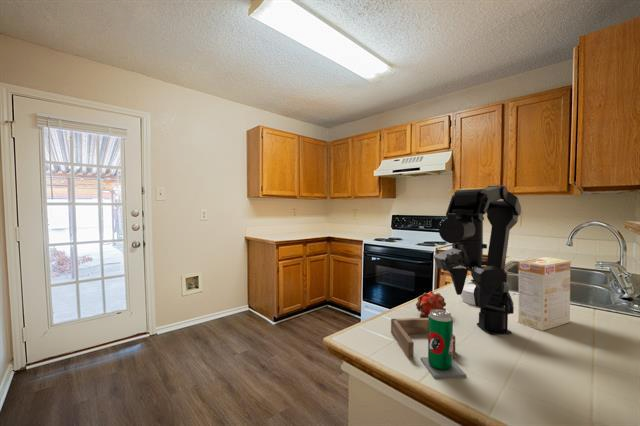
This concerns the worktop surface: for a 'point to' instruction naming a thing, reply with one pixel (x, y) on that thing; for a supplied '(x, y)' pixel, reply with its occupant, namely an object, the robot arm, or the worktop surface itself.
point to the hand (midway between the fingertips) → (469, 300)
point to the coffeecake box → (544, 292)
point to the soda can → (440, 339)
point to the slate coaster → (451, 373)
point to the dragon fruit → (430, 303)
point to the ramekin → (468, 294)
